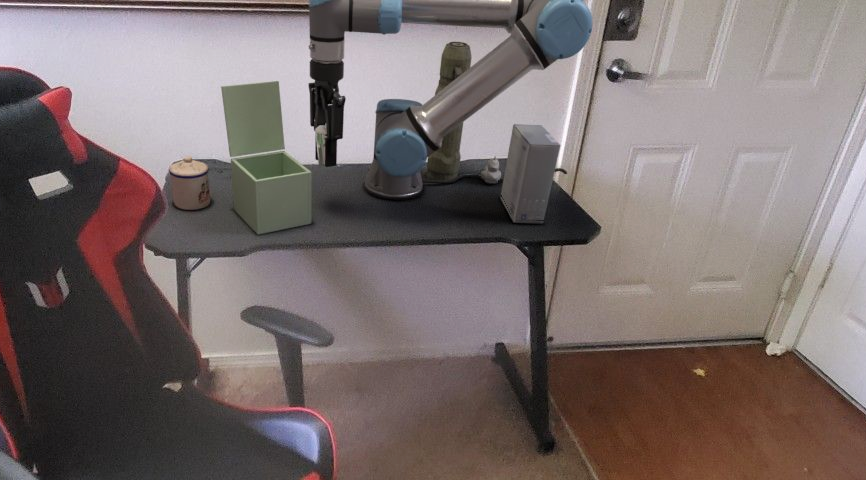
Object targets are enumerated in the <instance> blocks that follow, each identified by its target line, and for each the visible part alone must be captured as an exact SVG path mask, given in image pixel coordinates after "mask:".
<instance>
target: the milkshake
mask: <svg viewBox="0 0 866 480" xmlns="http://www.w3.org/2000/svg"><path fill="white" fill-rule="evenodd" d="M314 133H316V141H317V152H318V160H317V163H318V166H322V167H325V139H324V138H327V129H326V125H320V126H318V127H317V128H316V129H315V131H314Z"/></svg>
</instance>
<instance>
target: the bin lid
mask: <svg viewBox="0 0 866 480" xmlns="http://www.w3.org/2000/svg"><path fill="white" fill-rule="evenodd" d="M220 89H221V97H222V104H223V112H224V113H223V114H224V119H225V120H224V122H225V130H226V136H227V137H226V138H227V144H228V154H229V157H230V158H236V157H243V156H248V155H249V156H250V155H256V154H263V153H270V152H277V151H284V150H286V148H285V136H284V135H285V134H284V123H283V112H282V103H281V91H280V82H279V80H274V81H272V80H271V81H263V82H252V83H241V84H233V85H222V86H221V85H220Z"/></svg>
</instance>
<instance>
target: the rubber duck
mask: <svg viewBox="0 0 866 480" xmlns="http://www.w3.org/2000/svg"><path fill="white" fill-rule="evenodd" d="M480 175H481V177H482V178H483V179H485V180H489V181H498V180H499V179H500V178H502V172H501V171H500V162H499V160H498V158H497V156H496V155H494V157H493V158H490V159H489V160H488V161H487V165H485V166H484V170H481V172H480ZM482 178H481V179H482ZM483 179H482V180H483ZM484 182H485V183H486V184H488V185H497V184H498V183H499V182H497V183H489V182H486V181H484Z"/></svg>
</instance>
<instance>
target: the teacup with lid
mask: <svg viewBox="0 0 866 480" xmlns="http://www.w3.org/2000/svg"><path fill="white" fill-rule="evenodd" d="M209 170H210V169H209V167H208V165H207V164H206V163H205V162H201V161H198V160H195V159H193V157H192V156H191V155H190V156H189V155H186V156H184V157H183V159H182V160H180V161H178V162H174V163H173V164H171V165H170V166H169V169H168V172H169V174H170V181H171V191H172V198H173V204H174V206H175V207H176V208H178V209H180V210H186V211H197V210H201V209H205V208H207V207H208V206H209V205H210V203H211V194H210V182H209Z"/></svg>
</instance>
